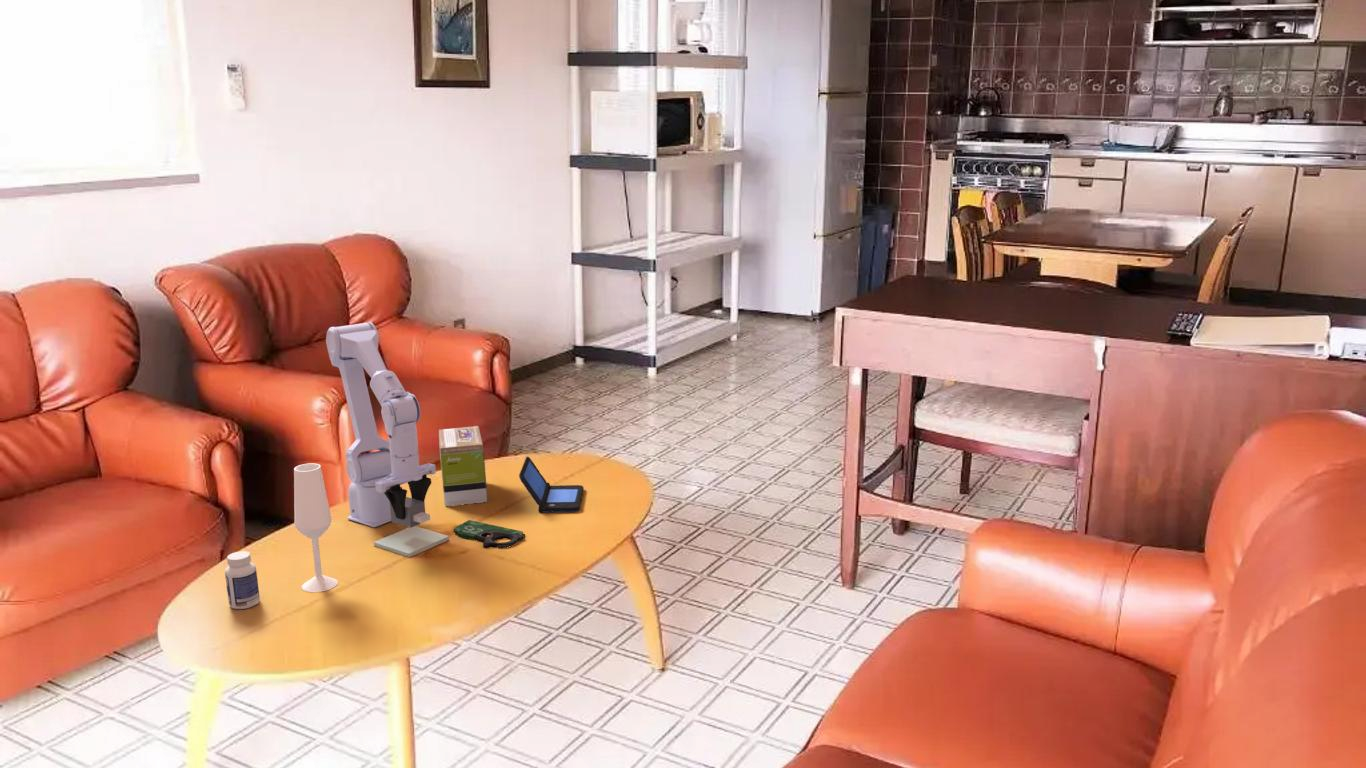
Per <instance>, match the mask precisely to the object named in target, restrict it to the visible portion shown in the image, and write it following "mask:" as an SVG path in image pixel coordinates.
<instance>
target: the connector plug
mask: <svg viewBox="0 0 1366 768" xmlns="http://www.w3.org/2000/svg"><path fill="white" fill-rule="evenodd" d="M390 512H391V521H390V523H394V524H396V525H400V526H404V527H406V528H409V527H410V528H411V527H414V526H419V525H420V524H424V523H426V522H428V521H431V514H430V513H426V505H425V501H424V502H423V501H420V500H416V499H413V498H412V497H410V496H406V499H405V519H403V520H401V519H398V518H396V516H395V513H394V510H393V507H392V505H391V503H390Z"/></svg>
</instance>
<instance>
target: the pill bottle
mask: <svg viewBox="0 0 1366 768" xmlns="http://www.w3.org/2000/svg"><path fill="white" fill-rule="evenodd" d="M226 561H227V563H226V564H227V565H228V566H227V567H226V568H225V569H224V575H225V577H224V579H225V584H226V593H227V597H228V604H229V605H228V606H229V607H230V608H231V609H234V610H244V609H250V608H252V607H254V606H256V605H258V604H259V602H260V599H261V597H260V589H259V582H258V573H257V572H258V571H257V567H256V565H255V563H253V562H252V557H251V553H250V552H249V551H247V550H246V551H245V550H244V551H243V550H242V551H235V552H232V553H230V554H229V555H227V557H226Z"/></svg>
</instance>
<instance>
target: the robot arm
mask: <svg viewBox="0 0 1366 768" xmlns="http://www.w3.org/2000/svg"><path fill="white" fill-rule="evenodd" d="M379 338H380V337H379V332H378V329H377V327H376V326H375V324H374V323H373V322H372V321H367V322H364V323H356V324H355V323H354V324H349V325H342V326H331V327H329V328H328V330H327V331H326V338H325V343H326V348H327V353H328V357H329V360H330V362H331V366H332V367H336V368H338V370H339V373H340V376H341V381H342V385H343V389H344V394H345V398H346V403H347V407H348V412H349V416H350V421H351V425H352V429H353V433H354V438H355V440H354V442H352V444H351V445H350V447H349V448H348V449H347V450H346V452H345V458H346V472H347V475H348V478H349V479H350V481H351V482H350V484H349V487H348V492H347V493H348V501H349V502H348V504H349V511H350V512H349V513H350V515H349V516H347V520H350V521H352V522H356V523H358V524H359V523H360V524H363V525H366V526H368V527H373V528H377V527H380V526H381V525H384V524H386V523H389V522H390V523H391V512H390V503H391V505H392V507H393V510H394V513H395V516H396V518H398V519H401V520H403V519H405V499H406V497H407V494H408V490H407V489H405V488H403V487H402V485H404V484H406V483H407V484H408V485H407V486H408V487H409V492H410V496H411V497H410V498H413V499H416V500H420V501H423V502H425V500H426V495H427V493H428V490H429V488H430V486H431V485H432V479H431V478H430V477H428V475H429V476H430V475H435V474H436V472H437V471H436V470H437V469H436V464H434V463H429V462H428V463H425V464H421V465H420V455H419V443H418V431H417V423H418V422H419V421H420V419H421V406H420V403H419V401H418V399H417V397H416V396H415V394H414V393H410V391H406V390H405V388H404V386H403V384H402V383H401V381H400V379H399V378H398V376H397V375H396V373H395V372H394V371H392V370H388V369H387V368H386V364H385V362H384V360H383V358H382V356H381V354H380V352H379V340H380V339H379ZM364 370H365V372H366V373H367V375H369V377H370V378H371V379H370V381H369V387H370V388H371V391H372V392H373V394H374V395H375V397H376V399H377V401H378V403H379V404H380V406H381V411H380V413H381V417H382V420H383V423H384V429H385V433H386V434H387V435H388V440H386V439H385V438H382V437H381V436H379V433H378V428H377V424H376V419H375V416H374V411H373V407H372V402H371V398H370V394H369V389H368V385H367V381H366V376H365V372H364ZM416 422H417V423H416ZM370 451H373V452H370ZM365 452H367V453H365ZM361 453H363V454H361Z"/></svg>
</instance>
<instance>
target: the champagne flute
mask: <svg viewBox="0 0 1366 768" xmlns="http://www.w3.org/2000/svg"><path fill="white" fill-rule="evenodd" d="M321 467H322V466H321V464H319V463H312V462H311V463H304V464H299V465H297V466H295V467H294V468H293V477H294V478H293V479H294V480H293V482H294V483H293V488H294V489H293V490H294V491H293V492H294V494H293V495H294V496H293V497H294V500H293V501H294V502H293V503H294V504H293V505H294V508H293V509H294V514H293V515H294V526H295V528H296V530H297V531H298V532H299V533H300V534H301V535H302V536H305V537H306V538H308V539H311V543H312V553H313V554H312V555H313V562H314V572H315V576H313V577H312V578H310V579H309V580H307V581H306V582H304V583H303V584H302V586H301V589H302V591H304V592H306V593H307V592H308V593H320V592H325V591H330V590H331V589H333V588H335V587H336V586H337V585H338V583H339V582H338V580H337V579H336V578H333V577H330V576H327V575H324V574H323V571H322V562H321V553H320V552H321V551H320V543H319V538H321V537H322V536H323V535H324V534H325V533H326V531H327V530H328V529H329V527H330V526H331V524H332V520H333V519H332V515H331V511H330V505H329V500H328V496H327V490H326V485H325V481H324V477H323V471H322V468H321Z"/></svg>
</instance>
